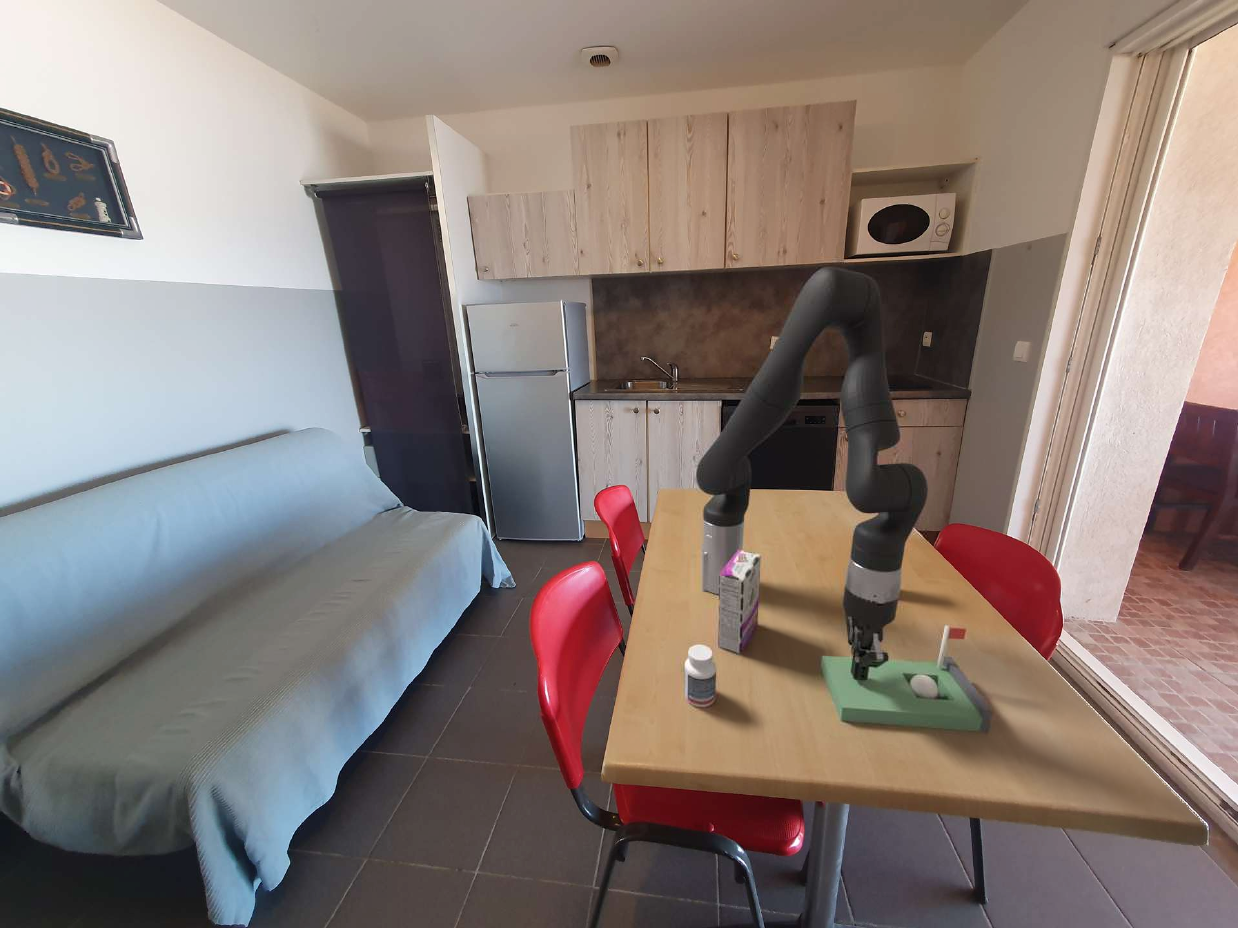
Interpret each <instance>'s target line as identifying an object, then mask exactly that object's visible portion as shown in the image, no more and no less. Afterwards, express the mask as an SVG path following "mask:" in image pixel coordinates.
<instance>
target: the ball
mask: <svg viewBox="0 0 1238 928" xmlns="http://www.w3.org/2000/svg"><path fill="white" fill-rule="evenodd" d="M910 687H911V689H912V690H913V692H914V694H915V695H916V697H917V698H926V699H935V698H936V697H937V695H938V686H937V684H936V683H935V681H934V680H933V679H932V678H930V677H929V676H926V675H921V674H920V675H915V676H914V677H913V678H912V679H911V680H910Z"/></svg>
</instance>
